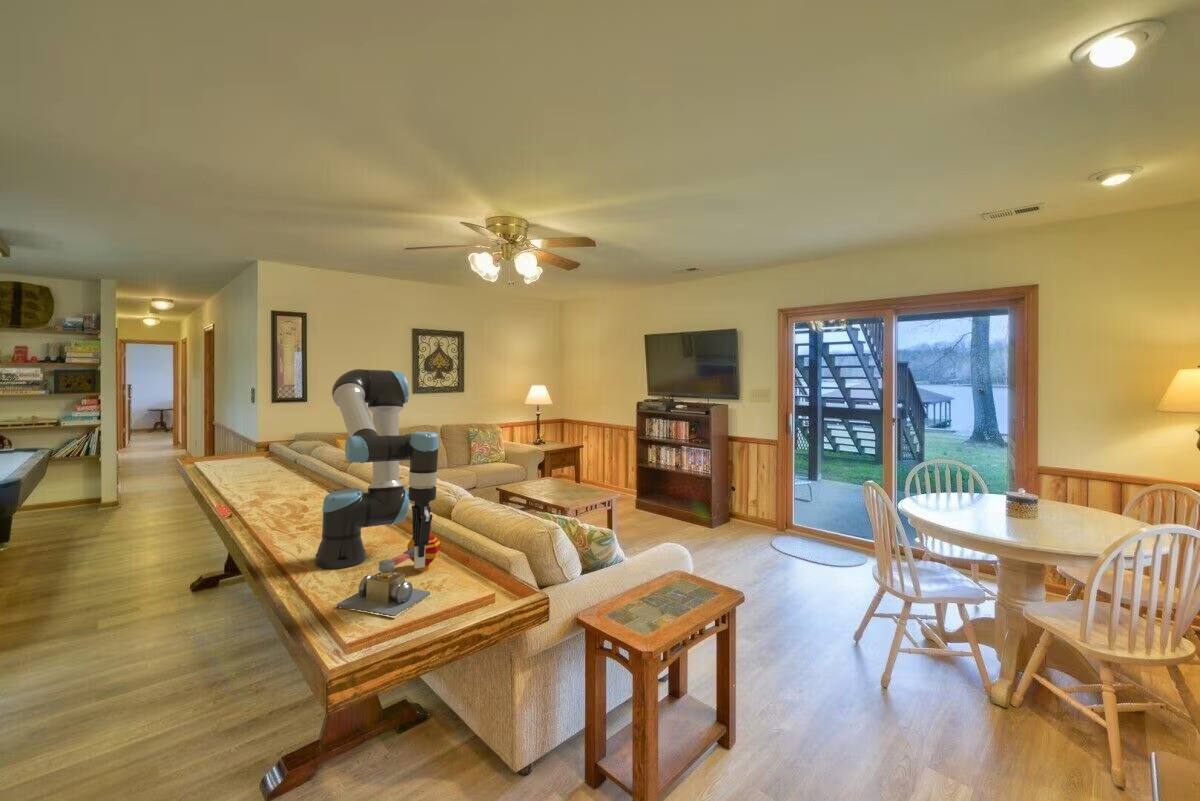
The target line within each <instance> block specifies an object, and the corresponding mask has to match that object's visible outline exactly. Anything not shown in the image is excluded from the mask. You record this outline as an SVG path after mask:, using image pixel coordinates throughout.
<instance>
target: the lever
mask: <svg viewBox="0 0 1200 801" xmlns="http://www.w3.org/2000/svg"><path fill="white" fill-rule="evenodd" d="M414 550H415V547H413V548H411V549H409V550H408V549H407V550H406V551H405V550H404V552H403V553H401V554H399V555H397V556H395V557H393V558H391V559H383V560H380V561H379V562H378V571H379V572H389V571H392V572H393V571H394V570H395V566H398V565H399V564H402V563H403V562H405V561H407V560H411V558H413V557H414Z"/></svg>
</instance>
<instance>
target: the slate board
mask: <svg viewBox="0 0 1200 801" xmlns="http://www.w3.org/2000/svg"><path fill="white" fill-rule="evenodd" d="M428 595H430V596H431V591H429V590H424V589H419V588H418V589H417V588H413V591H412V595H411V598H410V599H409V600H408V601H407V602H404V603H402V604H398V603H397V602H396V600H395V601H393V602H391V603H390V604H388V605H387V604H382V603H377V602H372V601H366V596H365V597H361V596H360V595H359V591H358V592H356V593H354V594H353V595H350V596H349V597H347V598H345V599H343V600H341V601H339V602H337V604H336V608H337V607H341V608H340V609H342V608H347V609H355V610H361V611H367V612H373V613H379V614H383V615H389V616H396V615H397V614H399V613H400V612H402V611H404V610H406V609H407V608H409V607H411V606H412V605H414V604H415V603H417V602H418V601H420V600H422V599H424V598H425V597H427V596H428ZM428 597H429V596H428ZM428 597H427V598H428ZM425 599H426V598H425ZM425 599H424V600H425ZM422 601H423V600H422ZM347 609H346V610H347Z"/></svg>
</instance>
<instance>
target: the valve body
mask: <svg viewBox="0 0 1200 801" xmlns="http://www.w3.org/2000/svg"><path fill="white" fill-rule="evenodd" d="M413 589H414V588H413V584H412V582H411V581H406V574H405V573H403V572H397V571H393V570H392V571H389V572H381V571H379V572H378V573H376V574H374V575H373V574H371V575H370V574H368V575H365V576H364V577H363V578H362V579H361V580H360V582H359V586H358V592H359V595H360V596H361V597H365V596H366V601H372V602H377V603H382V604H387V605H388V604H390V603H391V602H393V601H395V600H396V602H397V603H398V604H402V603H404V602H407V601H408V600H409V599H410V598H411V595H412V591H413Z"/></svg>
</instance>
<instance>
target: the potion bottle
mask: <svg viewBox="0 0 1200 801" xmlns="http://www.w3.org/2000/svg"><path fill="white" fill-rule="evenodd" d="M432 528H433V527H432V525H431V526H430V530H432ZM440 541H441V540H439V539H438V538H437V536H435V535H434V534H429V543H428V545H426V550H425V567H421V568H414V567H413V568H414V570H416V571H419V572H420V571H421V572H424V571H428V570H430V569H431V568H432V566H431V563H432V562H433V561H434V560H435V559H437V557H439V555H440V552H441V551H440V544H441V542H440ZM414 544H415V543H414V540H413V537H412V538H411V540H409V542H408V544H407V546H406V548H407V550H409V549H411V548H413V547H414ZM410 560H411V562H412V563H414V557H413V558H411V559H410Z"/></svg>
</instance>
